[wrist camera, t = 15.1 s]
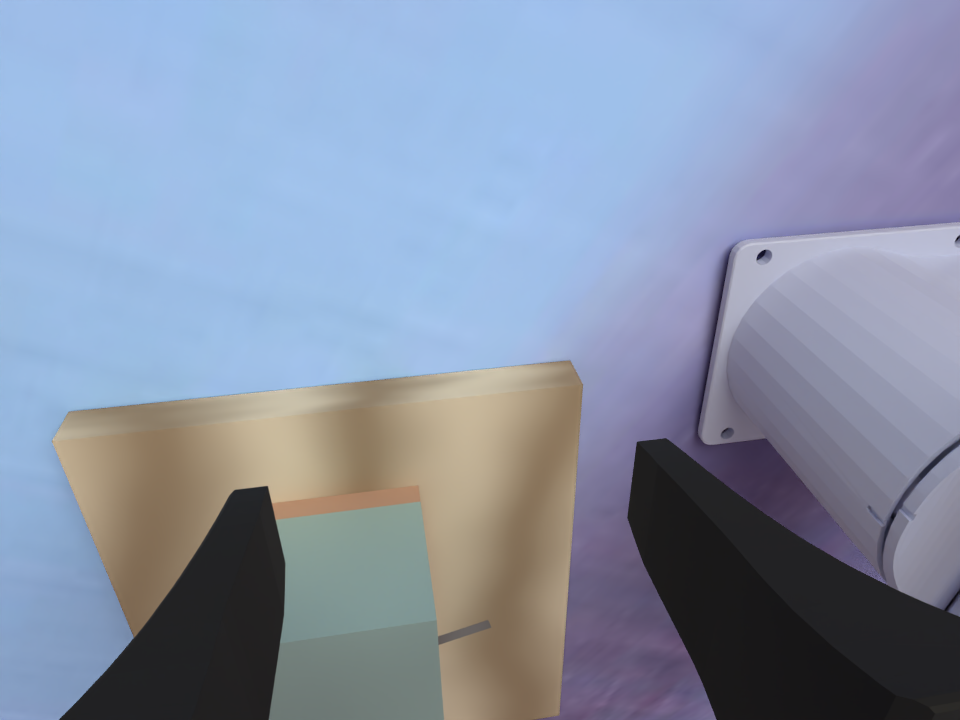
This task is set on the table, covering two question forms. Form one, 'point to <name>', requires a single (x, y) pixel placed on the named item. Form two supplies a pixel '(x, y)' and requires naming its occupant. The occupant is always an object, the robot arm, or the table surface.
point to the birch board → (361, 468)
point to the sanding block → (357, 610)
